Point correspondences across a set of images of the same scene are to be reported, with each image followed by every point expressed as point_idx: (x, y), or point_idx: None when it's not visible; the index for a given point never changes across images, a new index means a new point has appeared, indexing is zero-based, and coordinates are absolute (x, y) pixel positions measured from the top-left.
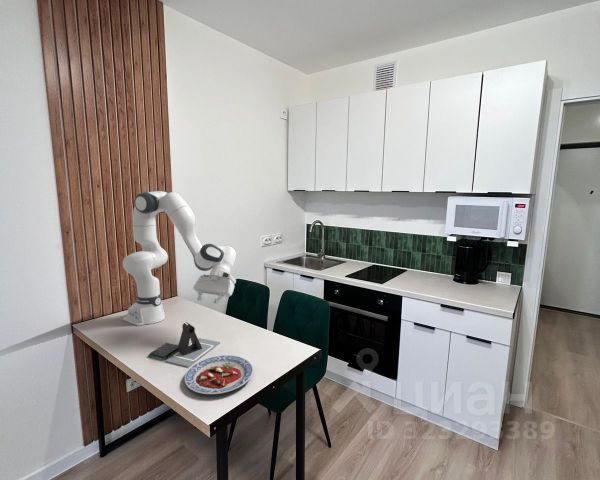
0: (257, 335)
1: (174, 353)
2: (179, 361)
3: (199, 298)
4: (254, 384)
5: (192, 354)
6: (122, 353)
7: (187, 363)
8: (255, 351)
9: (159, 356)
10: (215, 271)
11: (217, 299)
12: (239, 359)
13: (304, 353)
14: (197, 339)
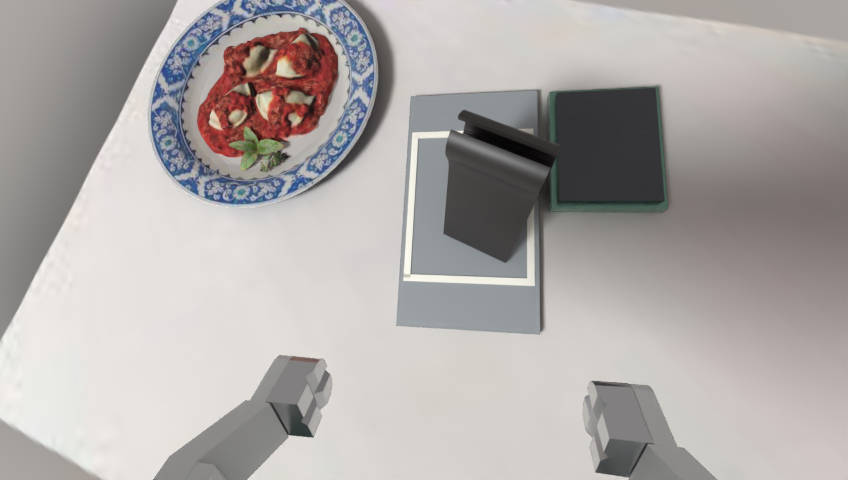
0: None
1: None
2: (471, 109)
3: (610, 400)
4: None
5: None
6: (820, 66)
7: (427, 109)
8: (206, 307)
9: (586, 94)
10: None
11: (253, 396)
12: (223, 192)
13: (19, 357)
14: (448, 197)
